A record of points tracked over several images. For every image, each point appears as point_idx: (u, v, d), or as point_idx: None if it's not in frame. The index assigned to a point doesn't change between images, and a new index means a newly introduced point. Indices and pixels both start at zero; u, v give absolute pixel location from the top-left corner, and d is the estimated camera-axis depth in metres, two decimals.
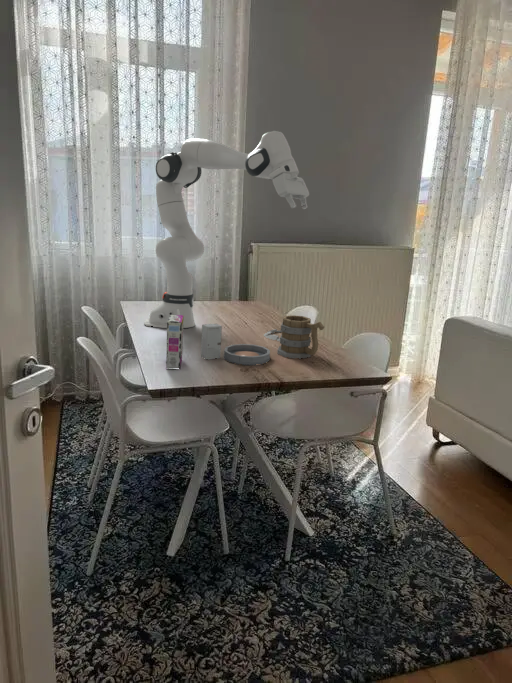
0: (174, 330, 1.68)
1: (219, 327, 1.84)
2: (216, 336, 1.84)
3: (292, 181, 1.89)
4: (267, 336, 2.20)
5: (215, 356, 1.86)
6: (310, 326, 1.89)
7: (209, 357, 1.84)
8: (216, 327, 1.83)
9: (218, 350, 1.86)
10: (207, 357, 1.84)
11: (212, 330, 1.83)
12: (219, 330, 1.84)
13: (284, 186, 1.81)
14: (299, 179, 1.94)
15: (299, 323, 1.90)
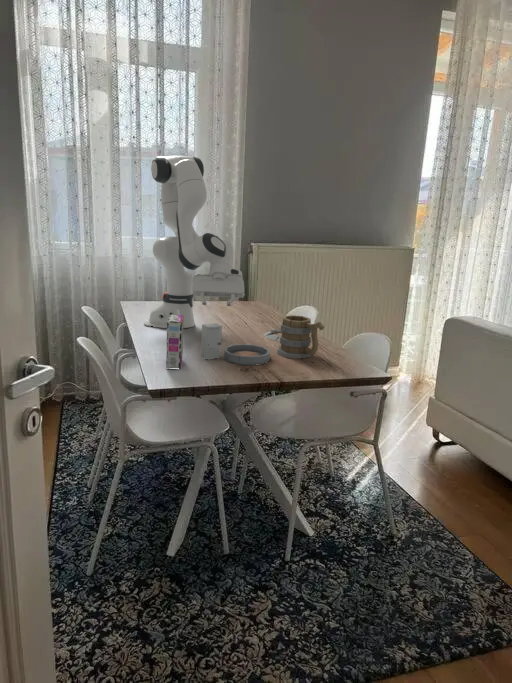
0: (174, 330, 1.68)
1: (219, 327, 1.84)
2: (216, 336, 1.84)
3: None
4: (267, 336, 2.20)
5: (215, 356, 1.86)
6: (310, 326, 1.89)
7: (209, 357, 1.84)
8: (216, 327, 1.83)
9: (218, 350, 1.86)
10: (207, 357, 1.84)
11: (212, 330, 1.83)
12: (219, 330, 1.84)
13: None
14: None
15: (299, 323, 1.90)
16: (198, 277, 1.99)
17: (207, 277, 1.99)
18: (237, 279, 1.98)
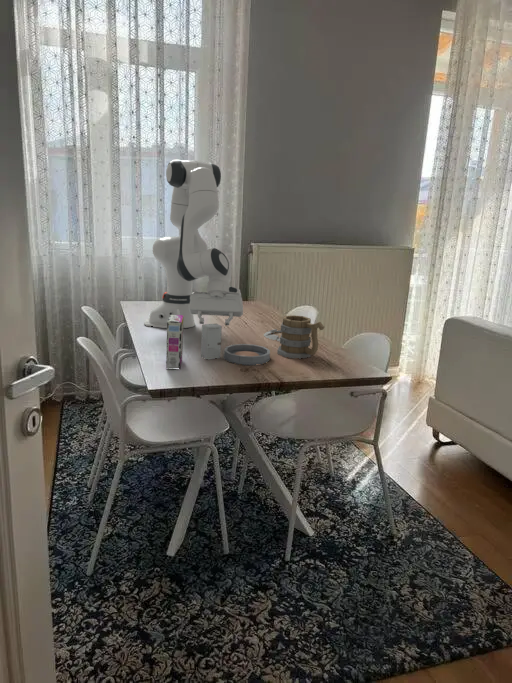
0: (174, 330, 1.68)
1: (219, 327, 1.84)
2: (216, 336, 1.84)
3: None
4: (267, 336, 2.20)
5: (215, 356, 1.86)
6: (310, 326, 1.89)
7: (209, 357, 1.84)
8: (216, 327, 1.83)
9: (218, 350, 1.86)
10: (207, 357, 1.84)
11: (212, 330, 1.83)
12: (219, 330, 1.84)
13: None
14: None
15: (299, 323, 1.90)
16: (195, 295, 1.93)
17: (204, 295, 1.93)
18: (235, 297, 1.92)
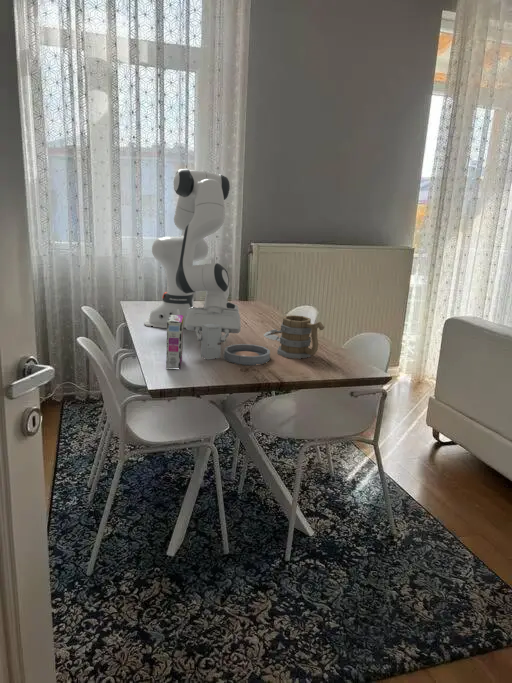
0: (174, 330, 1.68)
1: (219, 327, 1.84)
2: (216, 336, 1.84)
3: None
4: (267, 336, 2.20)
5: (215, 356, 1.86)
6: (310, 326, 1.89)
7: (209, 357, 1.84)
8: (216, 327, 1.83)
9: (218, 350, 1.86)
10: (207, 357, 1.84)
11: (212, 329, 1.83)
12: (219, 330, 1.84)
13: None
14: None
15: (299, 323, 1.90)
16: (192, 311, 1.89)
17: (201, 311, 1.89)
18: (232, 314, 1.88)
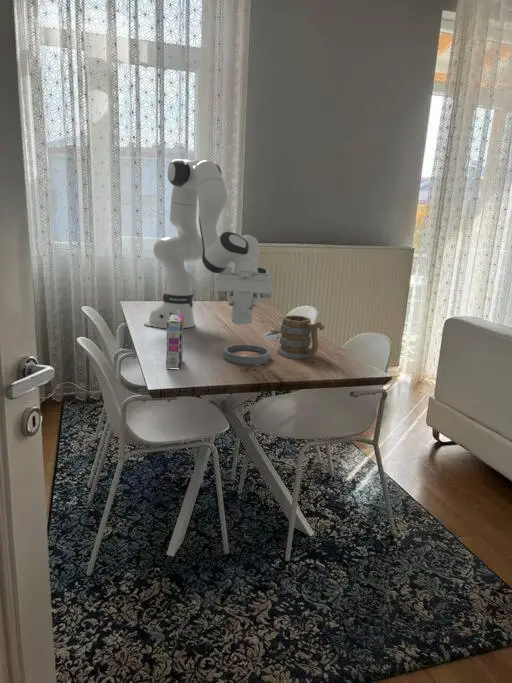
0: (174, 330, 1.68)
1: (251, 291, 1.81)
2: (248, 301, 1.81)
3: None
4: (267, 336, 2.20)
5: (246, 321, 1.83)
6: (310, 326, 1.89)
7: (241, 322, 1.82)
8: (248, 291, 1.81)
9: (249, 315, 1.83)
10: (239, 321, 1.81)
11: (244, 293, 1.80)
12: (250, 294, 1.82)
13: None
14: None
15: (299, 323, 1.90)
16: (223, 276, 1.87)
17: (232, 276, 1.87)
18: (264, 278, 1.86)
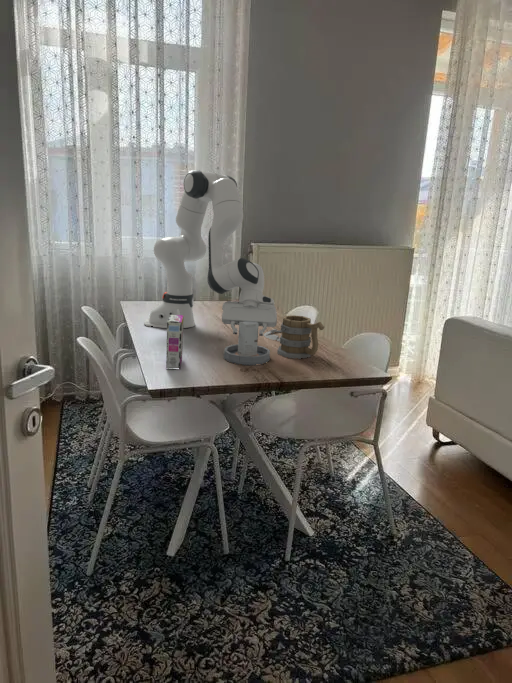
0: (174, 330, 1.68)
1: (256, 324, 1.85)
2: (253, 334, 1.85)
3: None
4: (267, 336, 2.20)
5: (252, 353, 1.87)
6: (310, 326, 1.89)
7: (246, 354, 1.86)
8: (253, 324, 1.85)
9: (255, 347, 1.87)
10: (244, 354, 1.85)
11: (249, 327, 1.84)
12: (256, 327, 1.86)
13: None
14: None
15: (299, 323, 1.90)
16: (228, 304, 1.90)
17: (238, 305, 1.90)
18: (269, 307, 1.89)
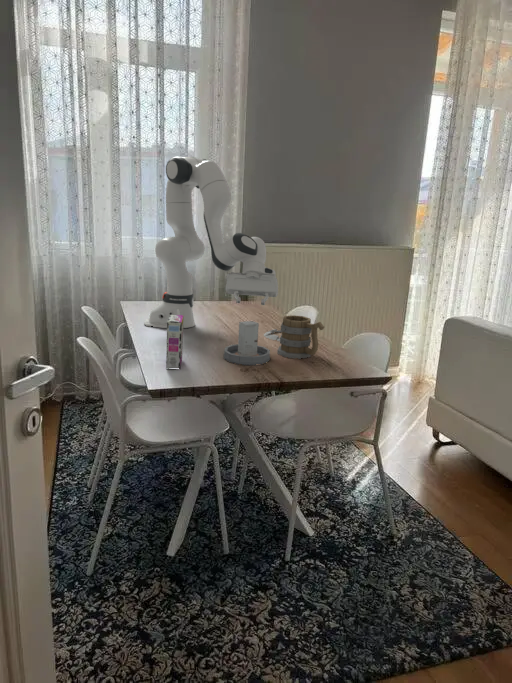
0: (174, 330, 1.68)
1: (256, 324, 1.85)
2: (253, 334, 1.85)
3: None
4: (267, 336, 2.20)
5: (252, 353, 1.87)
6: (310, 326, 1.89)
7: (246, 354, 1.86)
8: (253, 324, 1.85)
9: (255, 347, 1.87)
10: (244, 354, 1.85)
11: (249, 327, 1.84)
12: (256, 327, 1.86)
13: None
14: None
15: (299, 323, 1.90)
16: (232, 275, 1.99)
17: (241, 275, 1.99)
18: (270, 278, 1.98)
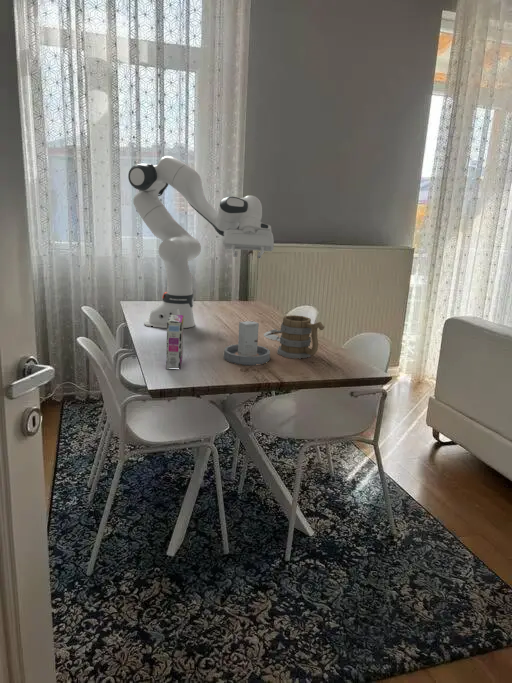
0: (174, 330, 1.68)
1: (256, 324, 1.85)
2: (253, 334, 1.85)
3: None
4: (267, 336, 2.20)
5: (252, 353, 1.87)
6: (310, 326, 1.89)
7: (246, 354, 1.86)
8: (253, 324, 1.85)
9: (255, 347, 1.87)
10: (244, 354, 1.85)
11: (249, 327, 1.84)
12: (256, 327, 1.86)
13: None
14: None
15: (299, 323, 1.90)
16: (229, 231, 2.07)
17: (238, 231, 2.07)
18: (266, 233, 2.06)
